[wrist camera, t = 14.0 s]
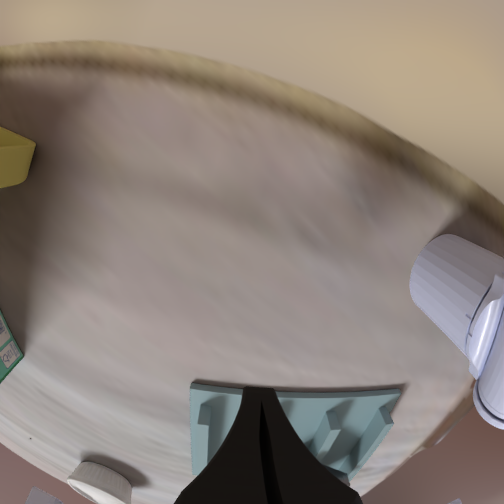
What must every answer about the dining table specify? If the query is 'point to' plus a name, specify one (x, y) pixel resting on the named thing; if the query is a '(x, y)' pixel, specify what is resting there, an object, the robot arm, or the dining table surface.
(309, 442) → the slot rack
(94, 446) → the dining table surface
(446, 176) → the dining table surface
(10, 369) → the milk carton
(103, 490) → the ramekin
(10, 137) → the plastic component
